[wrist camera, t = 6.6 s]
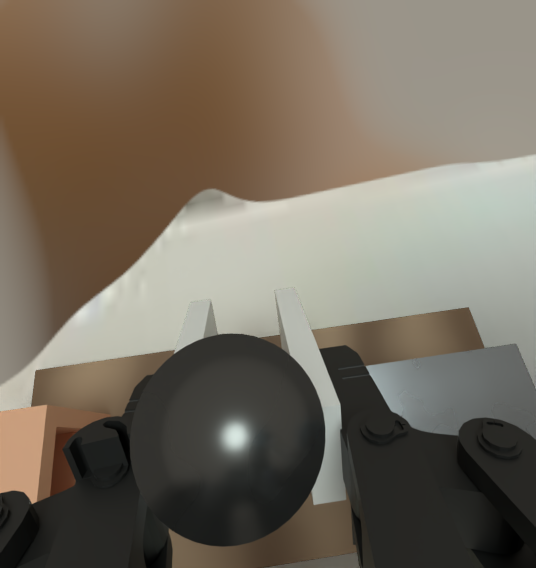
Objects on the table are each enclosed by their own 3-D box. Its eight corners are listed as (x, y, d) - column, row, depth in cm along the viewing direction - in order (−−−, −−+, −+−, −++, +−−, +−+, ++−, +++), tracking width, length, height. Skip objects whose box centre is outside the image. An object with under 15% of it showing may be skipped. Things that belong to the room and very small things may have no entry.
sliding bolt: (492, 376, 18) (1005, 220, 5) (512, 428, 17) (1199, 389, 4) (154, 427, 17) (-179, 392, 5) (155, 483, 16) (-263, 627, 4)
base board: (460, 312, 23) (468, 307, 22) (538, 516, 18) (552, 520, 17) (45, 373, 22) (35, 370, 21) (20, 600, 17) (6, 609, 16)
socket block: (110, 414, 20) (46, 404, 14) (106, 515, 18) (31, 548, 12) (36, 425, 20) (-57, 420, 14) (24, 528, 18) (-88, 567, 12)
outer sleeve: (456, 368, 20) (516, 343, 15) (484, 449, 18) (562, 452, 13) (316, 389, 20) (329, 371, 15) (332, 473, 18) (353, 486, 13)
